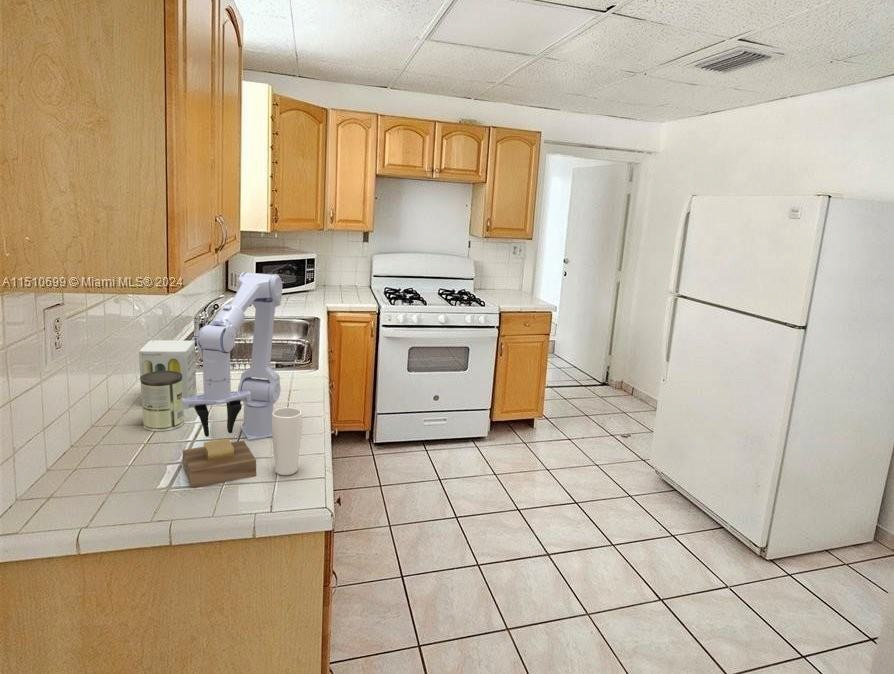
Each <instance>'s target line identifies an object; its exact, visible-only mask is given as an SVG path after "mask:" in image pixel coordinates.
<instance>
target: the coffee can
mask: <svg viewBox="0 0 894 674" xmlns="http://www.w3.org/2000/svg"><path fill="white" fill-rule="evenodd" d="M139 380H140V390H141V391H140V393H141V392H142V397H141V407H142V420H143V421H142V422H143V424H142V425H143V428H144V429H145V430H147V431H150V432H166V431H172V430H176V429H178V428H180V427H182V426H183V425H184V424H185V418H184V417H185V415H184V409H183V406H182V399H183V389H182V374H181V373H179V372H176V371H155V372H150V373H147V374H144V375H142V376H141V377H139Z"/></svg>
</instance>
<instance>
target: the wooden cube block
mask: <svg viewBox="0 0 894 674" xmlns="http://www.w3.org/2000/svg"><path fill="white" fill-rule="evenodd" d="M231 442H232V441H231V440H230V438H223V439H218V440H209V441H204V442H203V447H204V454H205V456H206V458H207V460H208V462H211V461H217V460H223V459H229V458H234V447H233V445H232V444H231Z"/></svg>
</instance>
